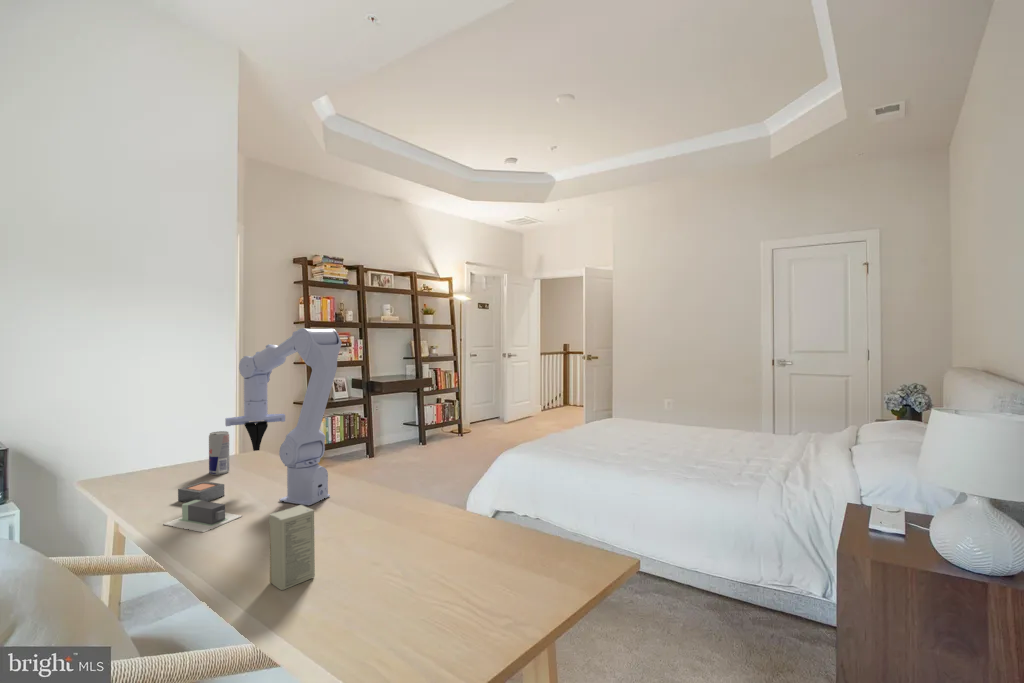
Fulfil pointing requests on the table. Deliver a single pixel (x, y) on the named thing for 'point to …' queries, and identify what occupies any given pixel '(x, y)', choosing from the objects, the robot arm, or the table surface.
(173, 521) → the paper sheet
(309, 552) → the skincare box
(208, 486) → the button
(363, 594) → the table surface
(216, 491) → the button housing
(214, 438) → the energy drink
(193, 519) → the block
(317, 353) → the robot arm
